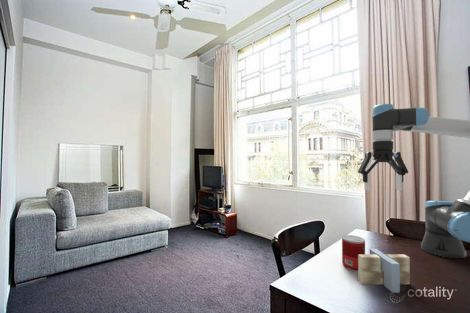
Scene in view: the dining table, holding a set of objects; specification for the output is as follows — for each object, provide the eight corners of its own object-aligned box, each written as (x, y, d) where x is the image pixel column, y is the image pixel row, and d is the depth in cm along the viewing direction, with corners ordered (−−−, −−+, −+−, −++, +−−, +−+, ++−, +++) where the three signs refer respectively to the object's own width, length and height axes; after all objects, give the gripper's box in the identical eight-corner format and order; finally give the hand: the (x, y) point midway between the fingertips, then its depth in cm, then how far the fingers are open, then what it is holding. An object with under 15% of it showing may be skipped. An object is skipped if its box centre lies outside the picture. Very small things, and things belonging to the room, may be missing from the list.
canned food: (368, 272, 85) (368, 242, 85) (345, 270, 86) (345, 241, 87) (361, 262, 92) (361, 235, 92) (340, 261, 94) (340, 234, 94)
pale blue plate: (369, 273, 84) (369, 248, 84) (376, 273, 84) (376, 248, 84) (392, 292, 72) (392, 263, 72) (399, 292, 72) (399, 263, 72)
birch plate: (404, 280, 79) (404, 254, 79) (409, 284, 77) (409, 257, 77) (358, 280, 79) (358, 254, 79) (362, 284, 77) (362, 257, 77)
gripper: (405, 141, 102) (405, 188, 102) (349, 141, 102) (349, 188, 102) (418, 140, 95) (418, 191, 94) (358, 140, 95) (358, 191, 94)
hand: (383, 190), depth 98 cm, fingers open, 13 cm apart
